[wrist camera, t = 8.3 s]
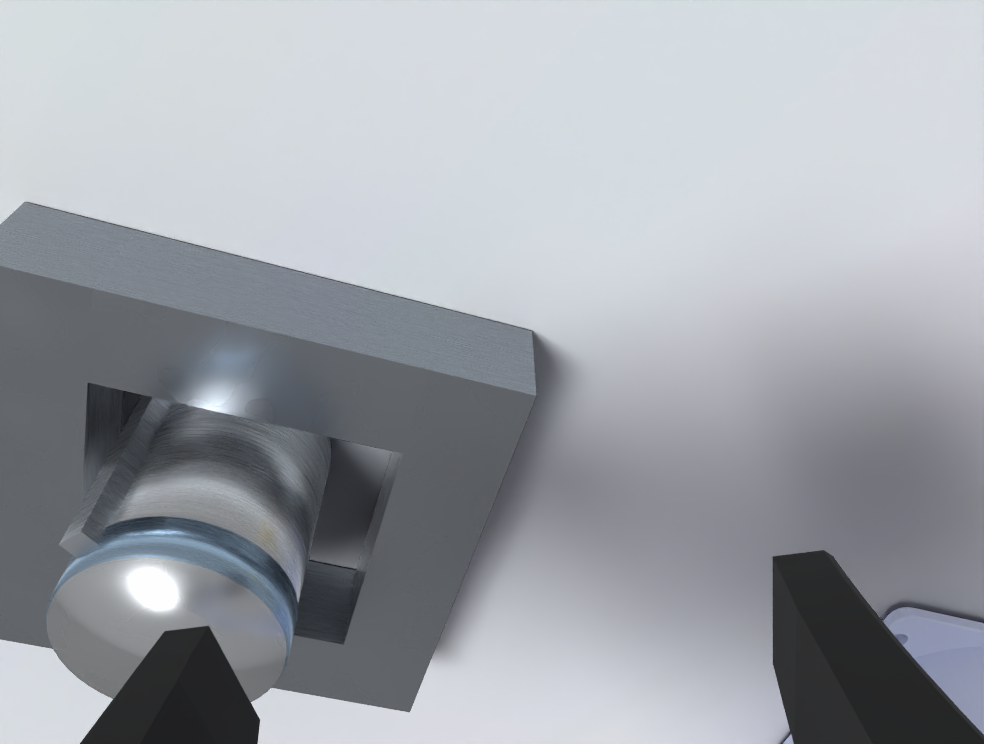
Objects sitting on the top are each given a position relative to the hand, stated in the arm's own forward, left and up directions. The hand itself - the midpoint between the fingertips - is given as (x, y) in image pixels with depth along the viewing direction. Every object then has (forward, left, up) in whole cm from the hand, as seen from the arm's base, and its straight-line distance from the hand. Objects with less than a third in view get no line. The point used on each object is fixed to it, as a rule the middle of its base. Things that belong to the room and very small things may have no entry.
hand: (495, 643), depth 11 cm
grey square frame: (-6, +4, -10) cm, 12 cm away
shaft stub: (-6, +5, -10) cm, 12 cm away
